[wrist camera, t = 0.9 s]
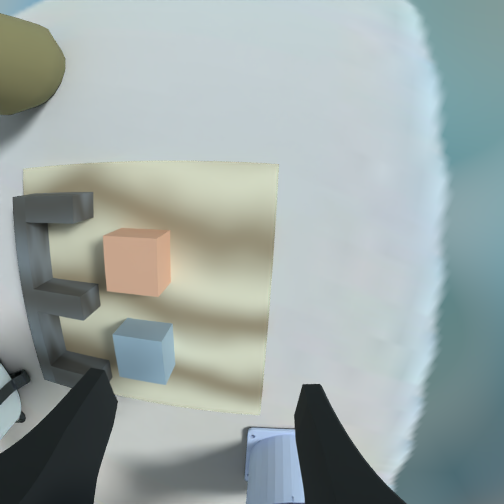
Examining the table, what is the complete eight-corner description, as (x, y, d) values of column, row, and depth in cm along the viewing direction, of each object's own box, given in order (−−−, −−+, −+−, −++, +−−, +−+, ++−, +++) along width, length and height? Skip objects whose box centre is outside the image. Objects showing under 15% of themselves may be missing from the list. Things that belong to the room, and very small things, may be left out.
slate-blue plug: (175, 364, 26) (165, 385, 23) (132, 357, 26) (119, 376, 23) (172, 323, 25) (161, 341, 22) (127, 317, 25) (112, 334, 22)
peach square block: (171, 282, 24) (158, 296, 21) (123, 277, 24) (107, 291, 21) (170, 230, 23) (156, 238, 20) (121, 227, 23) (102, 235, 20)
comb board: (260, 411, 27) (258, 438, 24) (55, 375, 28) (39, 393, 25) (278, 164, 22) (280, 163, 18) (26, 168, 23) (1, 170, 19)
